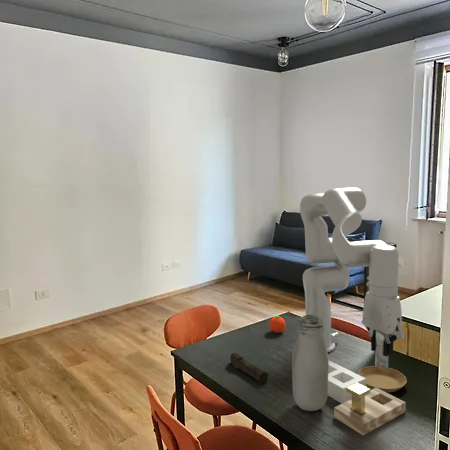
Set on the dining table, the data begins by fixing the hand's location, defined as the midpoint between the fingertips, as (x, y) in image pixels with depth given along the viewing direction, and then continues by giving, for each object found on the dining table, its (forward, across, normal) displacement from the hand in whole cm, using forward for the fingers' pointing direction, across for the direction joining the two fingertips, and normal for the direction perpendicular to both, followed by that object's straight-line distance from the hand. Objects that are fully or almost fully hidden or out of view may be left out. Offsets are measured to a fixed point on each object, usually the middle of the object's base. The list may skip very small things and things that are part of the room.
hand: (381, 351), depth 121 cm
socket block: (+17, 0, -5) cm, 18 cm away
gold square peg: (+17, 0, -10) cm, 20 cm away
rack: (+17, -16, -2) cm, 24 cm away
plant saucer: (+18, -9, +12) cm, 23 cm away
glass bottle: (+18, -12, -16) cm, 27 cm away
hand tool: (+18, -41, -19) cm, 48 cm away
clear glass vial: (+4, 0, 0) cm, 4 cm away
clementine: (+18, -62, +13) cm, 66 cm away
